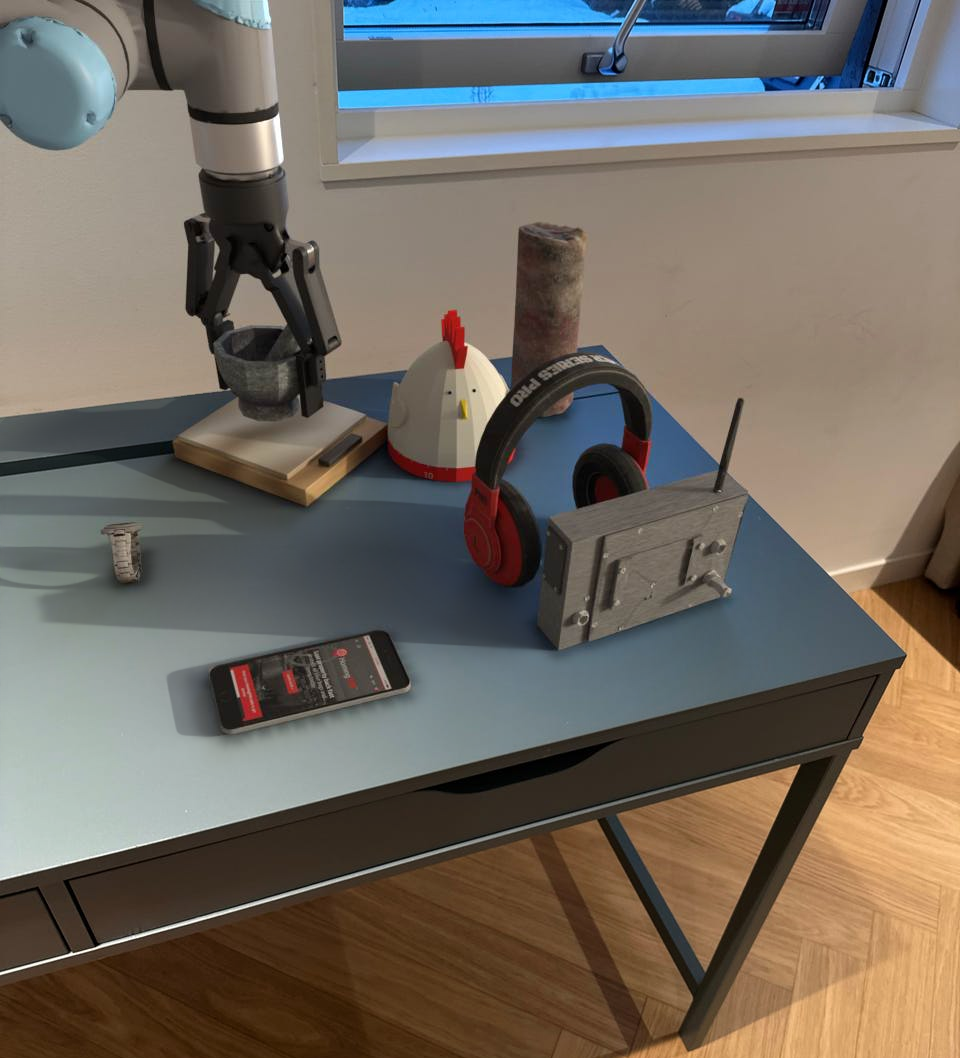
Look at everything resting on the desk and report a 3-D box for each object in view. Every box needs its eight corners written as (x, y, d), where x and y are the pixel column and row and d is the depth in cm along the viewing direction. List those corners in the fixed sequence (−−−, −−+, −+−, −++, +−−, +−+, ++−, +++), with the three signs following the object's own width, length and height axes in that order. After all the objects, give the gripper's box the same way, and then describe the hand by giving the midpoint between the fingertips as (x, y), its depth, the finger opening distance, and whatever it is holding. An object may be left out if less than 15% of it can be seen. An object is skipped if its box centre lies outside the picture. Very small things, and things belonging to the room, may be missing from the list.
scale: (175, 457, 99) (170, 436, 97) (265, 398, 108) (262, 377, 107) (307, 507, 93) (304, 485, 91) (388, 439, 103) (388, 418, 101)
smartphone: (206, 667, 75) (386, 627, 79) (208, 673, 76) (387, 633, 80) (222, 732, 70) (413, 686, 74) (223, 738, 71) (413, 692, 75)
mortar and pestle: (216, 429, 93) (201, 310, 86) (224, 387, 100) (211, 273, 93) (330, 429, 95) (326, 313, 87) (330, 388, 102) (326, 277, 94)
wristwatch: (151, 549, 87) (140, 504, 84) (148, 591, 83) (136, 546, 79) (112, 552, 87) (99, 508, 83) (107, 595, 82) (93, 550, 79)
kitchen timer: (399, 487, 96) (396, 350, 86) (378, 419, 106) (373, 289, 96) (529, 474, 99) (541, 339, 89) (497, 409, 109) (504, 281, 98)
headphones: (503, 618, 82) (519, 414, 68) (446, 556, 88) (450, 358, 74) (658, 558, 89) (700, 363, 75) (595, 505, 95) (623, 315, 82)
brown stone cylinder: (495, 399, 110) (504, 224, 97) (539, 380, 114) (553, 209, 100) (541, 425, 106) (558, 246, 93) (585, 404, 110) (607, 230, 96)
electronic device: (693, 572, 88) (742, 376, 74) (738, 615, 84) (800, 416, 70) (532, 624, 82) (553, 420, 68) (572, 673, 77) (603, 467, 64)
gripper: (372, 179, 81) (382, 411, 96) (172, 134, 88) (210, 356, 103) (321, 204, 76) (339, 444, 91) (113, 154, 83) (163, 384, 98)
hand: (271, 397), depth 97 cm, fingers closed on mortar and pestle, 10 cm apart
